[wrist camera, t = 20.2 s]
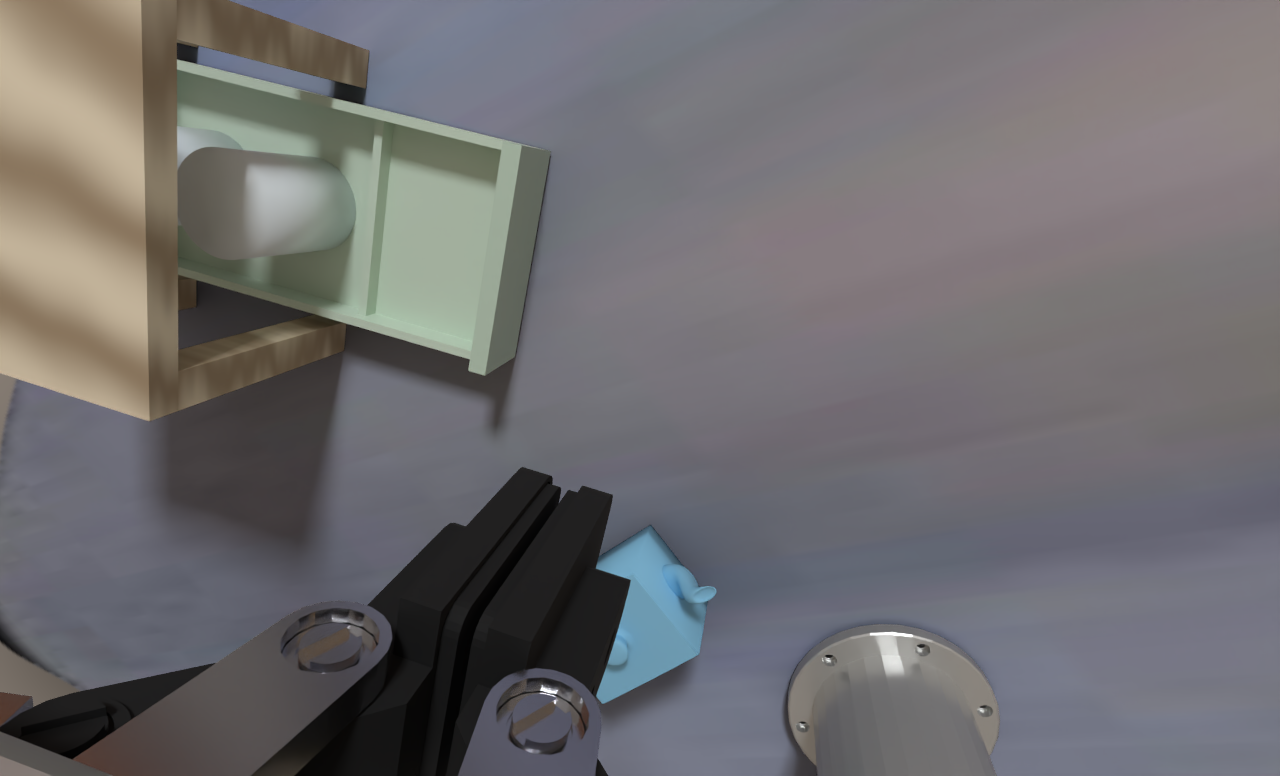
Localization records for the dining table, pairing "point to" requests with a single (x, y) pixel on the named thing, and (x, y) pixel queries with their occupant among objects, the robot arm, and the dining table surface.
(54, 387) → the miniature wooden table
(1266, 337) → the dining table surface
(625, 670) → the teapot
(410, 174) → the tray
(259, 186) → the white piece
